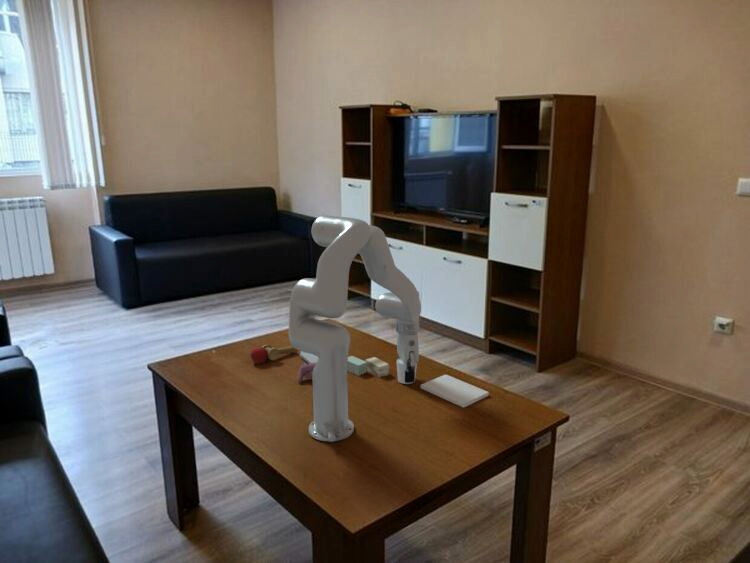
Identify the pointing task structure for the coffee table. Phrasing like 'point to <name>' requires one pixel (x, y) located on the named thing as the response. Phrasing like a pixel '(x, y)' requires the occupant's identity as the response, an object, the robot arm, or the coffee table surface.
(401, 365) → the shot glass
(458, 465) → the coffee table surface
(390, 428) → the coffee table surface
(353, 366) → the sage block
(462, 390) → the ceramic tile
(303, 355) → the game console
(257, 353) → the kendama
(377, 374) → the birch block
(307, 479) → the coffee table surface
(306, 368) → the video game controller
